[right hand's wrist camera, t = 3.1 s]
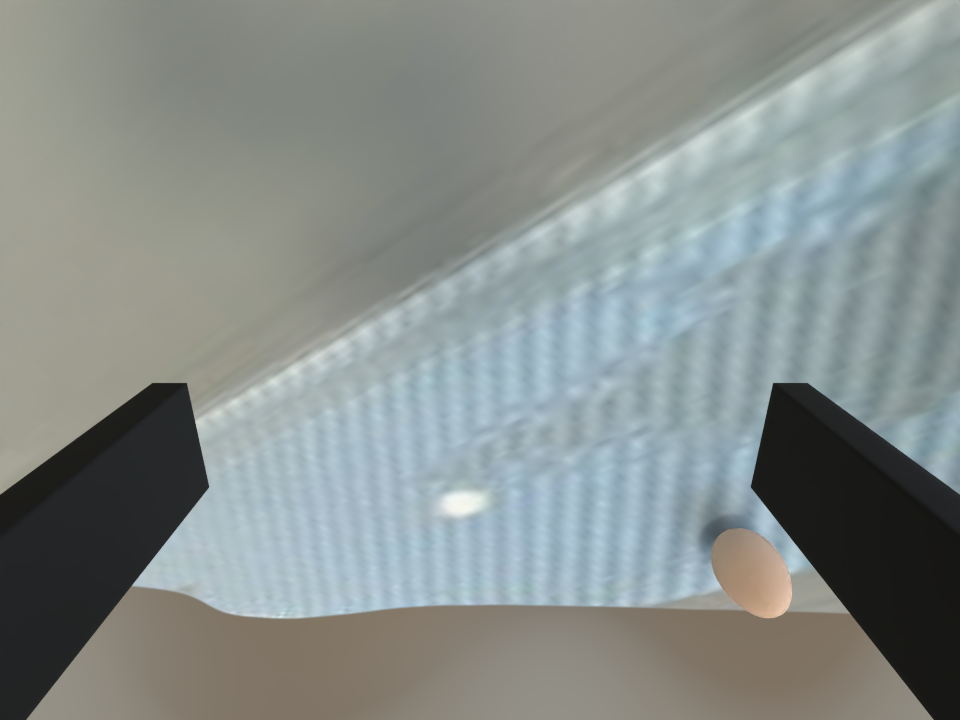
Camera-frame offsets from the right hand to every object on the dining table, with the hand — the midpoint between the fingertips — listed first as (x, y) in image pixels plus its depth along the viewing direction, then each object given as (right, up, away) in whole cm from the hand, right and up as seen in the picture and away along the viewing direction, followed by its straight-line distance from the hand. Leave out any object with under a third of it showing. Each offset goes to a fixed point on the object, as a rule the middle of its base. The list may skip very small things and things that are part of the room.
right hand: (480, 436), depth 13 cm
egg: (+22, -14, +36) cm, 44 cm away
